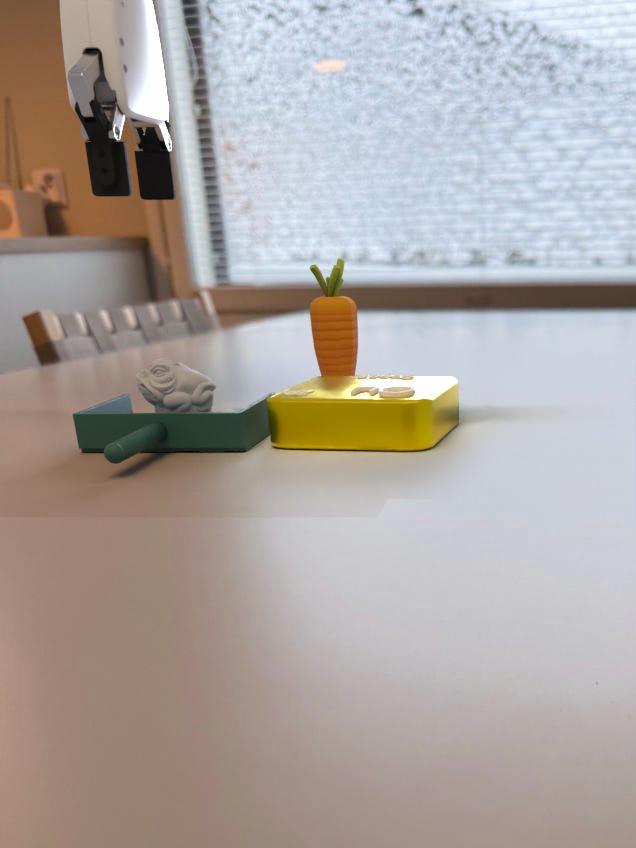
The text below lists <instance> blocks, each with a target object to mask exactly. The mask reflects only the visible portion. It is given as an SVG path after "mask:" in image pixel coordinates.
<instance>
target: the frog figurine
mask: <svg viewBox="0 0 636 848" xmlns="http://www.w3.org/2000/svg"><path fill="white" fill-rule="evenodd" d="M134 378H135V379H136V380H137V381H138V382H140V383H138V384H137V387H138V388H137V390H138V391H139V393H141V395H142V396H143V398H144V400H146V401H147V403H149V404H150V405H151V406H154V413H212V407H213V403H214V391H215V390H216V389H217V384H216V383H215V382H214V381H213V380H212V379H211V378H209V377H208V375H205V374H203V373H201V372H199V371H197V370H195V369H193V368H190V367H188V366H187V365H185V364H183V363H181V362H180V361H179V360H178V359H176V358H174V357H171V356H164V357H159V358H157V359H155V360H152V361H150V362H149V363H148V365H147V368H143V369H140V371H138V373H137V374H136V375H135V376H134Z"/></svg>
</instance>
